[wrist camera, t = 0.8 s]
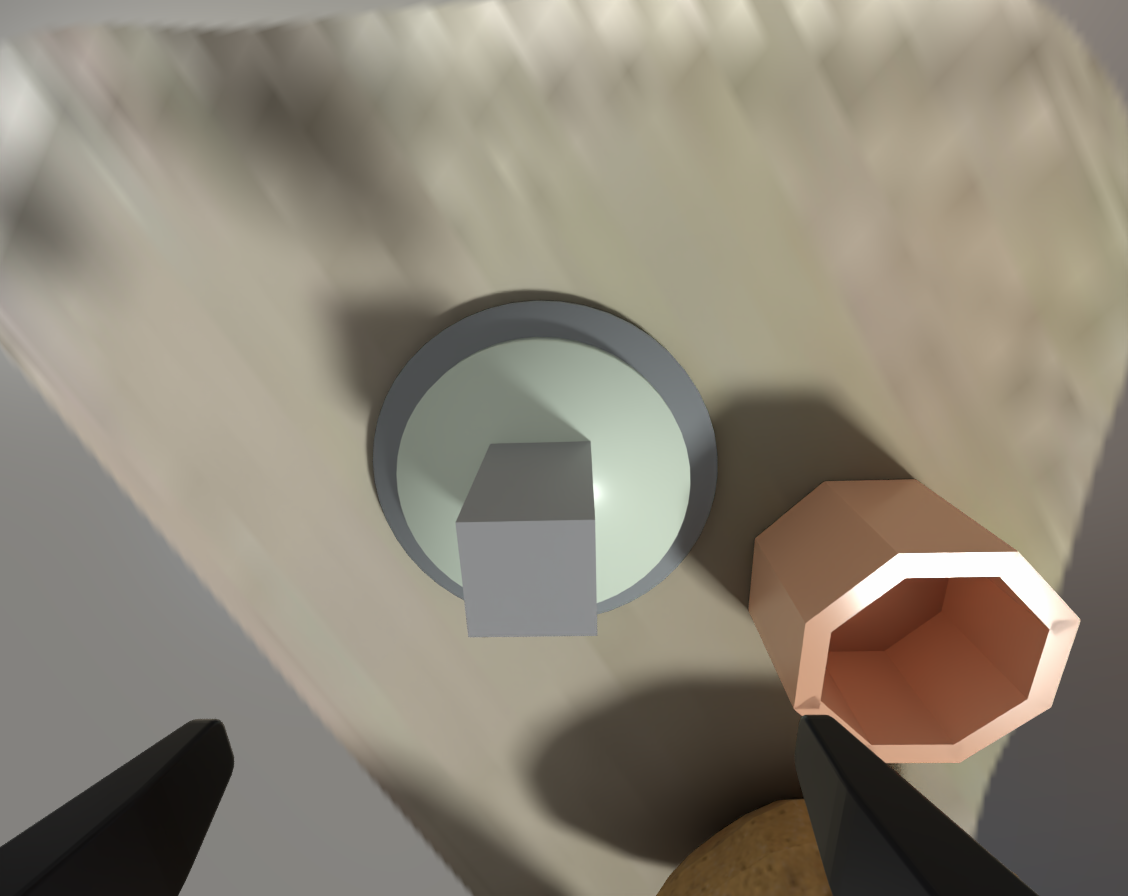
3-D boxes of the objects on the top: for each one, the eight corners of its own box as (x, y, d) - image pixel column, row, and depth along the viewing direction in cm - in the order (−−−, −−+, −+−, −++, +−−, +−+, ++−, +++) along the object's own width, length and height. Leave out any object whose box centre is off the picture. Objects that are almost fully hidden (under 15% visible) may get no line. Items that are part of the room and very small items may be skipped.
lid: (680, 595, 19) (720, 733, 14) (422, 598, 20) (362, 735, 14) (691, 331, 16) (748, 377, 11) (384, 341, 17) (290, 390, 11)
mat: (705, 611, 20) (708, 618, 20) (401, 616, 20) (398, 623, 20) (725, 293, 16) (729, 294, 16) (351, 306, 17) (346, 308, 16)
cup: (938, 654, 20) (1031, 762, 16) (744, 656, 21) (786, 763, 16) (980, 477, 18) (1103, 550, 14) (760, 482, 18) (814, 555, 14)
